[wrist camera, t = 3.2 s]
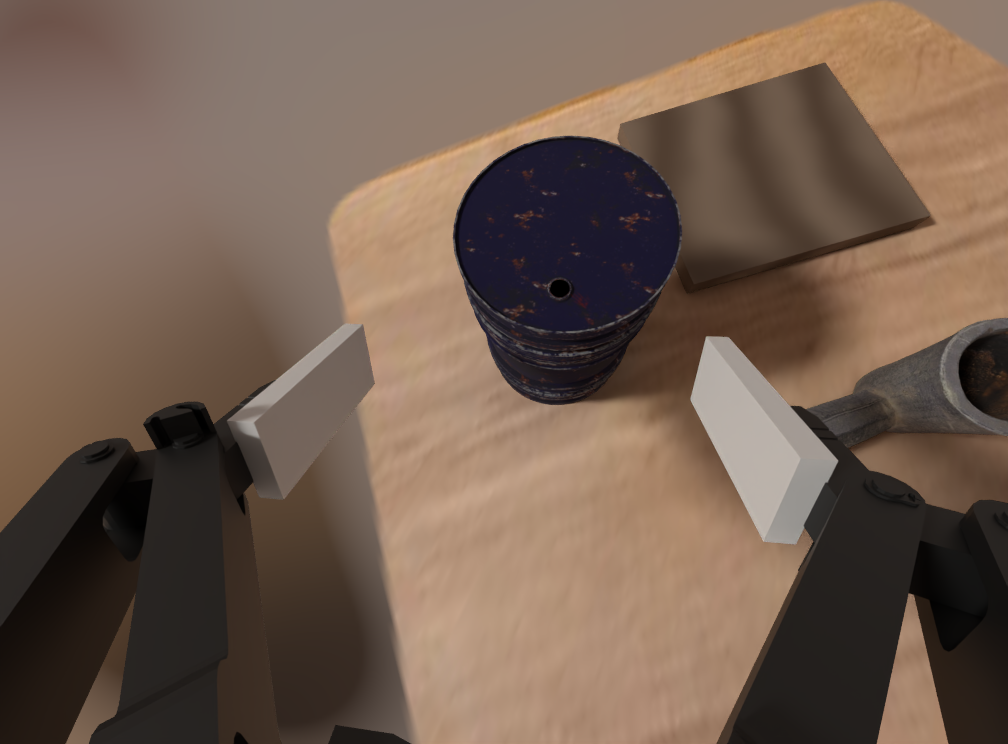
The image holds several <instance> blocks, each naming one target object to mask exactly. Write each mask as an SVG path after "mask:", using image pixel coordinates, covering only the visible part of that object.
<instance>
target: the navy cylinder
mask: <svg viewBox="0 0 1008 744" xmlns="http://www.w3.org/2000/svg"><path fill="white" fill-rule="evenodd" d="M681 241H682V223H681V215H680V211H679V208H678V205H677V201H676V199H675V197H674V195H673V193H672V191H671V189H670V187H669V185H668V184H667V183H666V181H665V180H664V179H663V177H662V176H661V175H660V173H659V172H658V171H657V170H656V169H655V168H653V167H652V166H651V165H650V164H649V163H648V162H647V161H646V160H644V159H643V158H641V157H640V156H638V155H637V154H636V153H634V152H632V151H630V150H628V149H626V148H624V147H622V146H620V145H617V144H614V143H611V142H608V141H605V140H601V139H596V138H591V137H583V136H558V137H550V138H545V139H540V140H536V141H533V142H530V143H527V144H523V145H521V146H519V147H517V148H515V149H512V150H510V151H508V152H507V153H505V154H503V155H502V156H500V157H499V158H497V159H496V160H494V161H493V162H492V163H491V164H489V165H488V166H487V167H486V168H485V169H484V170H482V171H481V173H480V174H479V175H478V176H477V177H476V178H475V179H474V181H473V182H472V183H471V185H470V186H469V188H468V189H467V191H466V192H465V194H464V196H463V198H462V200H461V203H460V205H459V207H458V210H457V214H456V218H455V222H454V232H453V243H454V252H455V257H456V260H457V264H458V267H459V270H460V272H461V275H462V277H463V279H464V285H465V288H466V291H467V295H468V298H469V300H470V303H471V305H472V307H473V309H474V313H475V316H476V318H477V320H478V322H479V324H480V326H481V328H482V329H483V330H484V332H485V333H486V336H487V340H488V345H489V348H490V352H491V354H492V357H493V359H494V361H495V363H496V365H497V367H498V368H499V370H500V372H501V374H502V376H503V377H504V378H505V380H506V381H507V383H508V384H509V385H510V386H511V387H512V388H513V389H514V390H516V391H517V392H518V393H520V394H521V395H522V396H524V397H526V398H528V399H530V400H533V401H536V402H539V403H543V404H549V405H563V404H570V403H574V402H577V401H580V400H582V399H584V398H587V397H589V396H590V395H592V394H593V393H595V392H596V391H597V390H598V389H600V388H601V387H602V386H603V385H604V384H605V382H606V381H607V380H608V378H609V377H610V376H611V375H612V374H613V372H614V371H615V370H616V368H617V367H618V365H619V364H620V362H621V360H622V358H623V356H624V354H625V352H626V348H627V346H628V344H629V342H630V341H631V340H632V339H633V338H634V337H635V336H636V335H637V333H638V332H639V331H640V329H641V328H642V326H643V325H644V323H645V321H646V319H647V318H648V316H649V315H650V313H651V312H652V310H653V308H654V307H655V305H656V302H657V300H658V298H659V296H660V294H661V291H662V289H663V287H664V286H665V284H666V283H667V281H668V279H669V277H670V275H671V273H672V271H673V269H674V267H675V265H676V263H677V260H678V256H679V252H680V249H681Z"/></svg>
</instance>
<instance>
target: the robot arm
mask: <svg viewBox="0 0 1008 744" xmlns="http://www.w3.org/2000/svg"><path fill="white" fill-rule="evenodd" d="M374 384H375V383H374V377H373V372H372V367H371V362H370V357H369V352H368V347H367V342H366V337H365V332H364V327H363V324H344V325H343V326H342V327H340V328H339V329H338V330H337V331H335V332H334V333H333V334H332V335H330V336H329V337H328V338H327V339H326V340H325V341H323V342H322V343H321V344H320V345H318V346H317V347H316V348H315V349H314V350H312V351H311V352H310V353H309V354H307V355H306V356H305V357H304V358H303V359H301V360H300V361H299V362H298V363H296V364H295V365H294V366H293V367H292V368H291V369H289V370H288V371H287V372H285V373H284V374H283V375H282V376H281V377H279V378H278V379H277V380H274V381H272V382H270V383H268V384H266V385H264V386H262V387H260V388H258V389H257V390H256V391H255V392H253V393H252V394H251V395H250V396H249V398H246V399H245V400H243V401H242V402H241V403H240V405H239V406H236V407H235V408H233V409H232V410H231V411H230V412H228V413H227V414H226V415H225V416H223V417H222V418H221V419H220V420H218V421H217V422H216V423H215V424H213V422H212V420H211V419H210V416H209V414H208V411H207V409H206V407H205V405H204V404H203V403H200V402H184V403H179V404H175V405H172V406H169V407H166V408H164V409H162V410H159V411H158V412H155V413H154V414H153V415H151V416H150V417H148V418H147V419H146V421H145V422H144V424H143V425H144V427H145V428H146V430H147V432H148V434H149V436H150V437H151V439H152V441H153V443H154V445H155V446H156V448H157V449H154V450H147V451H140V452H135V451H134V449H133V447H132V446H131V444H130V442H129V441H128V440H127V439H123V438H113V439H107V440H103V441H97V442H94V443H92V444H89V445H86V446H84V447H83V448H82V449H80V450H78V451H76V452H75V453H73V454H72V455H70V456H69V457H68V458H67V459H66V460H65V461H64V462H63V463H62V464H61V465H60V466H59V467H58V469H57V470H56V471H55V472H54V473H53V474H52V475H51V476H50V478H49V479H48V480H47V481H46V482H45V483H44V484H43V485H42V487H41V488H40V489H39V490H38V491H37V492H36V493H35V494H34V495H33V497H32V498H31V499H30V500H29V501H28V502H27V503H26V505H25V506H24V507H23V508H22V509H21V510H20V511H19V512H18V513H17V515H16V516H15V517H14V518H13V519H12V520H11V521H10V523H9V524H8V525H7V526H6V527H5V528H4V529H3V530H2V532H1V533H0V744H65V743H66V741H67V739H68V737H69V735H70V733H71V731H72V728H73V726H74V724H75V722H76V720H77V718H78V716H79V713H80V711H81V709H82V707H83V705H84V703H85V700H86V698H87V696H88V694H89V692H90V689H91V687H92V685H93V683H94V681H95V678H96V677H97V675H98V672H99V670H100V668H101V666H102V664H103V662H104V659H105V657H106V655H107V653H108V651H109V649H110V646H111V644H112V642H113V640H114V638H115V636H116V633H117V631H118V629H119V627H120V625H121V623H122V621H123V618H124V616H125V614H126V612H127V610H128V608H129V606H130V603H131V601H132V599H133V597H134V594H135V593H136V595H135V602H134V609H133V616H132V622H131V629H130V635H129V642H128V648H127V655H126V662H125V668H124V675H123V683H122V689H121V695H120V701H119V706H118V710H117V714H116V715H115V717H113V718H111V719H109V720H107V721H105V722H104V723H102V724H100V725H99V726H98V727H97V728H96V730H95V731H94V733H93V734H92V736H91V739H90V742H89V744H282V743H281V740H280V736H279V731H278V726H277V719H276V711H275V703H274V696H273V689H272V681H271V673H270V666H269V658H268V650H267V642H266V634H265V627H264V619H263V612H262V604H261V596H260V589H259V582H258V573H257V566H256V559H255V551H254V543H253V535H252V528H251V520H250V513H249V505H248V500H247V498H246V495H245V493H244V492H245V490H246V489H247V488H248V487H249V486H250V485H251V484H252V483H254V486H255V488H256V490H257V493H258V495H259V497H262V498H274V499H284V498H285V497H286V496H287V495H288V493H289V492H290V491H291V490H292V488H293V487H294V486H295V485H296V483H297V482H298V481H299V479H300V478H301V477H302V476H303V474H304V473H305V472H306V470H307V469H308V468H309V467H310V465H311V464H312V463H313V462H314V460H315V459H316V458H317V456H318V455H319V454H320V453H321V451H322V450H323V449H324V448H325V446H326V445H327V444H328V442H329V441H330V440H331V439H332V437H333V436H334V435H335V433H336V432H337V431H338V430H339V428H340V427H341V426H342V425H343V423H344V422H345V421H346V419H347V418H348V417H349V415H350V414H351V413H352V412H353V410H354V409H355V408H356V407H357V405H358V404H359V403H360V402H361V400H362V399H363V398H364V396H365V395H366V394H367V393H368V391H369V390H370V389H371V388H372V386H373V385H374ZM690 400H691V402H692V404H693V406H694V408H695V410H696V412H697V414H698V416H699V418H700V420H701V421H702V423H703V425H704V427H705V429H706V431H707V433H708V435H709V437H710V439H711V441H712V443H713V445H714V447H715V449H716V450H717V452H718V454H719V456H720V458H721V460H722V462H723V464H724V466H725V468H726V470H727V472H728V474H729V476H730V478H731V480H732V481H733V483H734V485H735V487H736V489H737V491H738V493H739V495H740V497H741V499H742V501H743V503H744V505H745V507H746V509H747V510H748V512H749V514H750V516H751V518H752V520H753V522H754V524H755V526H756V528H757V530H758V532H759V534H760V536H761V538H762V539H763V541H764V542H774V543H786V544H796V543H797V541H798V539H799V537H800V535H801V533H802V531H803V529H804V527H805V529H806V530H807V532H808V534H809V535H810V537H811V538H812V540H813V541H814V542H813V543H812V545H811V547H810V549H809V551H808V553H807V555H806V556H805V558H804V560H803V562H802V564H801V566H800V568H799V569H798V571H799V572H798V574H797V576H796V578H795V580H794V582H793V584H792V586H791V589H790V591H789V593H788V595H787V597H786V599H785V601H784V603H783V605H782V607H781V610H780V612H779V614H778V616H777V618H776V620H775V622H774V624H773V626H772V628H771V630H770V633H769V635H768V637H767V639H766V641H765V643H764V645H763V647H762V649H761V651H760V653H759V656H758V658H757V660H756V662H755V664H754V666H753V668H752V670H751V672H750V674H749V677H748V679H747V681H746V683H745V685H744V687H743V689H742V691H741V693H740V695H739V697H738V700H737V702H736V704H735V706H734V708H733V710H732V712H731V714H730V716H729V718H728V721H727V723H726V725H725V727H724V729H723V731H722V733H721V735H720V737H719V739H718V741H717V744H877V739H878V735H879V730H880V725H881V721H882V716H883V711H884V706H885V702H886V697H887V692H888V688H889V683H890V678H891V673H892V669H893V664H894V659H895V655H896V650H897V645H898V640H899V636H900V631H901V626H902V622H903V617H904V612H905V607H906V603H907V598H908V593H910V594H913V595H914V597H915V602H916V606H917V610H918V614H919V619H920V623H921V627H922V632H923V636H924V640H925V645H926V649H927V653H928V658H929V662H930V666H931V671H932V675H933V679H934V683H935V688H936V692H937V696H938V701H939V705H940V709H941V714H942V718H943V722H944V727H945V731H946V735H947V740H948V744H1008V503H1004V502H999V501H994V500H979V501H978V502H976V503H974V504H973V505H972V506H971V508H970V509H969V510H968V512H967V513H966V514H963V513H959V512H955V511H951V510H948V509H944V508H940V507H936V506H932V505H928V504H926V503H925V500H924V499H923V498H922V497H921V495H920V494H919V493H918V492H917V491H916V490H914V489H913V488H911V487H910V486H908V485H907V484H906V483H904V482H902V481H900V480H898V479H895V478H893V477H891V476H888V475H885V474H882V473H879V472H874V471H869V470H868V469H867V468H866V467H865V466H864V465H863V464H862V463H861V461H860V460H859V459H858V458H857V457H856V456H855V455H854V454H853V453H852V452H851V451H850V450H849V449H848V448H847V447H846V446H845V445H844V444H843V443H842V442H841V441H838V437H837V436H836V435H835V434H834V433H833V432H832V431H829V428H828V427H827V426H826V425H825V424H824V423H823V422H822V421H821V420H820V419H819V418H818V417H817V416H816V415H814V414H812V413H811V412H809V411H807V410H806V409H804V408H802V407H801V406H789V405H788V403H787V402H786V401H785V400H784V399H783V398H782V397H781V396H780V394H779V393H778V392H777V391H776V390H775V389H774V388H773V387H772V385H771V384H770V383H769V382H768V381H767V380H766V379H765V378H764V376H763V375H762V374H761V373H760V372H759V371H758V370H757V369H756V367H755V366H754V365H753V364H752V363H751V362H750V361H749V360H748V358H747V357H746V356H745V355H744V354H743V353H742V352H741V351H740V349H739V348H738V347H737V346H736V345H735V344H734V343H733V342H732V340H731V339H730V338H729V337H713V336H706V339H705V343H704V347H703V351H702V355H701V359H700V363H699V367H698V371H697V375H696V379H695V383H694V387H693V391H692V395H691V399H690ZM328 744H410V743H409V742H407V741H405V740H403V739H401V738H399V737H398V736H396V735H394V734H390V733H384V732H376V731H370V730H364V729H357V728H351V727H344V726H338V725H336V726H335V728H334V731H333V733H332V736H331V738H330V741H329V743H328Z"/></svg>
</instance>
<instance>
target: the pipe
mask: <svg viewBox="0 0 1008 744" xmlns="http://www.w3.org/2000/svg"><path fill="white" fill-rule="evenodd" d="M806 410H807V411H809V412H811V413H812V414H814V415H816V416H817V417H818V418H819V419H820V420H821V421H822V422H823V423H824V424H825V425H826V426H827V427H828V428H829V431H832V432H833V433H834V434H835V435H836V436H837V437H838V441H841V442H842V443H843V444H844V445H845V446H846V447H847V448H848V447H851V446H853V445H856V444H858V443H860V442H862V441H865V440H867V439H869V438H871V437H873V436H875V435H877V434H879V433H881V432H883V431H887V432H895V433H962V434H987V435H1004V436H1008V318H999V319H992V320H984V321H980V322H976V323H974V324H971V325H969V326H967V327H965V328H963V329H962V330H960V331H959V332H957V333H956V334H954V335H952V336H950V337H948V338H946V339H944V340H942V341H940V342H938V343H936V344H934V345H932V346H929V347H927V348H925V349H923V350H921V351H919V352H917V353H915V354H912V355H910V356H907V357H905V358H903V359H901V360H898V361H896V362H894V363H891V364H888V365H885V366H882V367H880V368H878V369H875V370H873V371H872V372H870V373H868V374H866V375H865V376H863V377H862V378H861V379H860V380H859V381H858V382H857V384H856V386H855V389H854V392H853V394H851V395H848V396H845V397H842V398H840V399H836V400H833V401H830V402H826V403H823V404H820V405H817V406H814V407H811V408H808V409H806Z"/></svg>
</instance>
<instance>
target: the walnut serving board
mask: <svg viewBox="0 0 1008 744" xmlns="http://www.w3.org/2000/svg"><path fill="white" fill-rule="evenodd" d="M618 141H619V143H620V145H621V146H622V147H624V148H626V149H628V150H630V151H632V152H634V153H636V154H637V155H638V156H640V157H641V158H643V159H644V160H646V161H647V162H648V163H649V164H650V165H651V166H652V167H653V168H655V169H656V170H657V171H658V172H659V173H660V175H661V176H662V177H663V179H664V180H665V181H666V183H667V184H668V185H669V187H670V189H671V191H672V193H673V195H674V197H675V199H676V201H677V205H678V208H679V211H680V215H681V223H682V241H681V249H680V252H679V256H678V260H677V263H676V265H675V267H676V270H677V272H678V274H679V276H680V279H681V281H682V283H683V285H684V288H685V290H686V292H687V293H690V292H694V291H697V290H701V289H704V288H708V287H711V286H714V285H718V284H721V283H725V282H728V281H732V280H735V279H739V278H742V277H745V276H749V275H752V274H756V273H759V272H763V271H766V270H770V269H773V268H776V267H780V266H783V265H787V264H790V263H794V262H797V261H801V260H804V259H807V258H811V257H814V256H818V255H821V254H825V253H828V252H832V251H835V250H839V249H842V248H845V247H849V246H852V245H856V244H859V243H863V242H866V241H870V240H873V239H876V238H880V237H883V236H887V235H890V234H894V233H897V232H901V231H904V230H907V229H911V228H914V227H915V226H916V225H918V224H919V223H921V222H922V221H924V220H925V219H927V218H928V217H929V216H931V215H930V213H929V212H928V210H927V209H926V207H925V206H924V205H923V203H922V202H921V200H920V199H919V197H918V196H917V194H916V193H915V192H914V190H913V189H912V187H911V186H910V184H909V183H908V181H907V180H906V179H905V177H904V176H903V174H902V173H901V171H900V170H899V168H898V167H897V165H896V164H895V163H894V161H893V160H892V158H891V157H890V155H889V154H888V152H887V151H886V150H885V148H884V147H883V145H882V144H881V142H880V141H879V139H878V138H877V137H876V135H875V134H874V132H873V131H872V129H871V128H870V126H869V125H868V124H867V122H866V121H865V119H864V118H863V116H862V115H861V113H860V112H859V111H858V109H857V108H856V106H855V105H854V103H853V102H852V100H851V99H850V97H849V96H848V95H847V93H846V92H845V90H844V89H843V87H842V86H841V84H840V83H839V82H838V80H837V79H836V77H835V76H834V74H833V73H832V71H831V70H830V69H829V67H828V66H827V64H826V63H822V64H818V65H815V66H812V67H808V68H805V69H802V70H798V71H795V72H792V73H788V74H785V75H782V76H778V77H775V78H772V79H768V80H765V81H762V82H758V83H755V84H752V85H748V86H745V87H742V88H738V89H735V90H732V91H728V92H725V93H722V94H718V95H715V96H712V97H708V98H705V99H702V100H698V101H695V102H692V103H688V104H685V105H682V106H678V107H675V108H672V109H668V110H665V111H662V112H658V113H655V114H652V115H648V116H645V117H642V118H638V119H635V120H632V121H628V122H625V123H622V124H620V129H619V133H618Z"/></svg>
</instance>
